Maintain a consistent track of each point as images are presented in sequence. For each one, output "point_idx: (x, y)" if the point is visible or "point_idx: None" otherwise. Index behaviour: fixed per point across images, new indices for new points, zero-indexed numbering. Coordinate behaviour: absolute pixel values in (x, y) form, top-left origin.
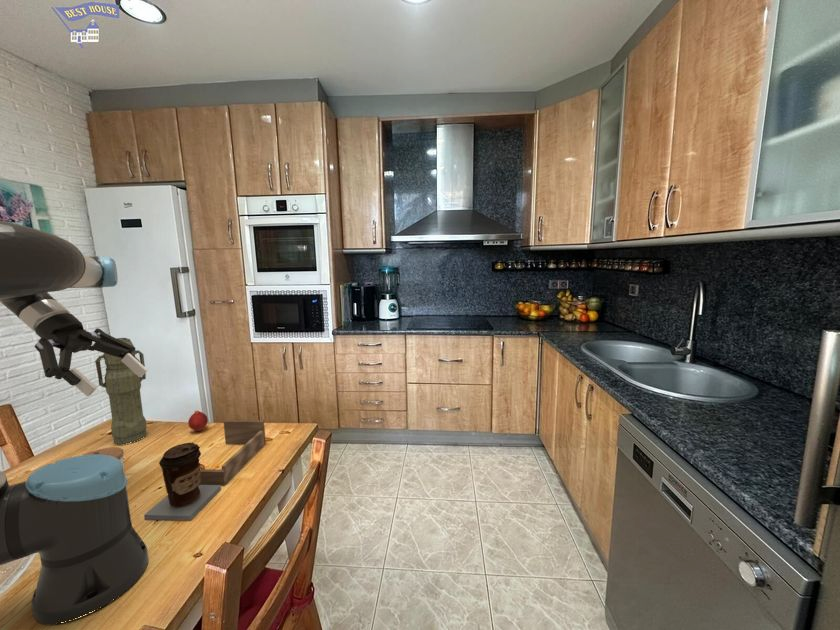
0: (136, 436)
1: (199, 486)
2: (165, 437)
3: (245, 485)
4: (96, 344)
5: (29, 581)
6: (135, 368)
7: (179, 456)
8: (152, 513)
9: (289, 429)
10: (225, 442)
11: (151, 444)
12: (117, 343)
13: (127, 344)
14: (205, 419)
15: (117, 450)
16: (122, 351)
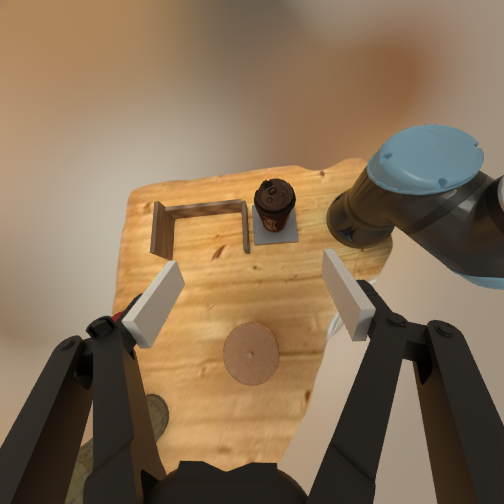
0: (153, 400)
1: (255, 223)
2: (149, 359)
3: (245, 190)
4: (143, 462)
5: (368, 269)
6: (171, 291)
7: (288, 183)
8: (295, 234)
9: (140, 207)
10: (170, 259)
11: (168, 363)
12: (55, 412)
13: (44, 376)
14: (122, 311)
15: (233, 339)
16: (121, 345)
